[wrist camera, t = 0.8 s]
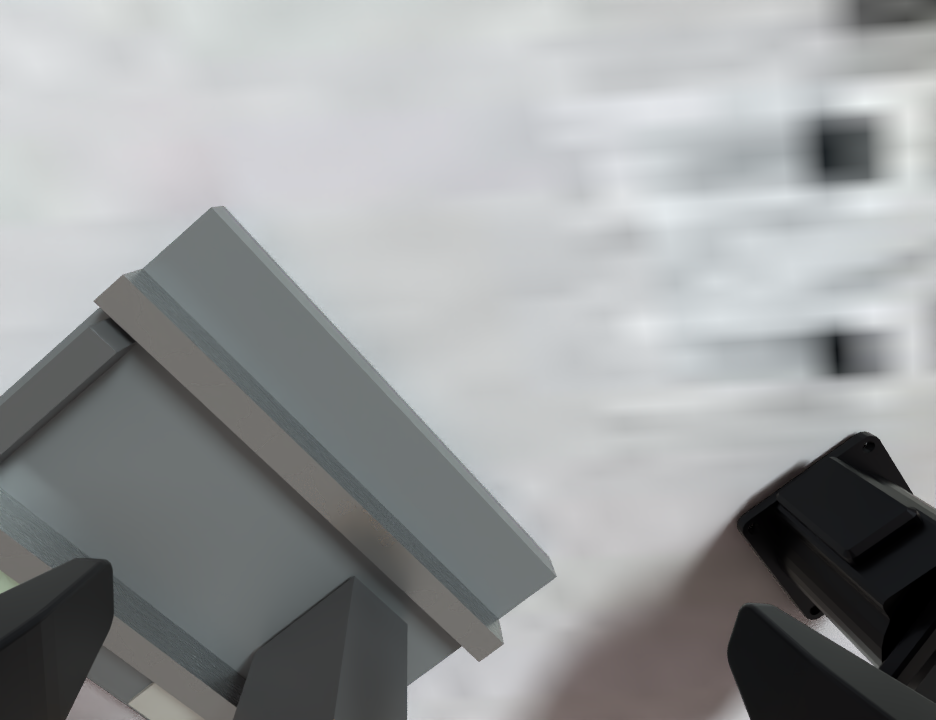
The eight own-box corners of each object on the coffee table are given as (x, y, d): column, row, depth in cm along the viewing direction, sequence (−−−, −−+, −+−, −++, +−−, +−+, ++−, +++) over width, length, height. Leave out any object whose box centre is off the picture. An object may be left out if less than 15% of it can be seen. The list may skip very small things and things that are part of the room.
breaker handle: (407, 624, 22) (406, 813, 15) (310, 696, 23) (269, 909, 16) (354, 575, 21) (328, 754, 15) (255, 652, 22) (186, 858, 15)
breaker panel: (549, 557, 24) (568, 608, 21) (263, 769, 25) (244, 843, 22) (223, 205, 19) (189, 209, 16) (-107, 501, 20) (-191, 552, 17)
